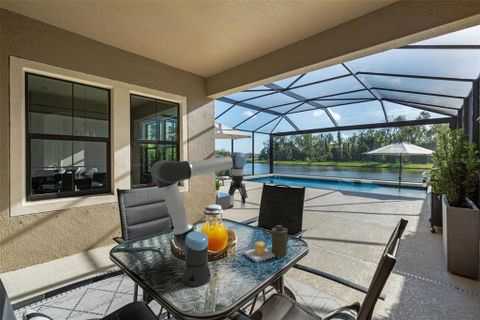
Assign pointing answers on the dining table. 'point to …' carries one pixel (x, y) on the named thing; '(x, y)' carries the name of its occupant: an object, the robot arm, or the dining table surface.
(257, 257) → the board
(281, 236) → the canister
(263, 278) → the dining table surface
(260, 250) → the tan wooden cylinder
